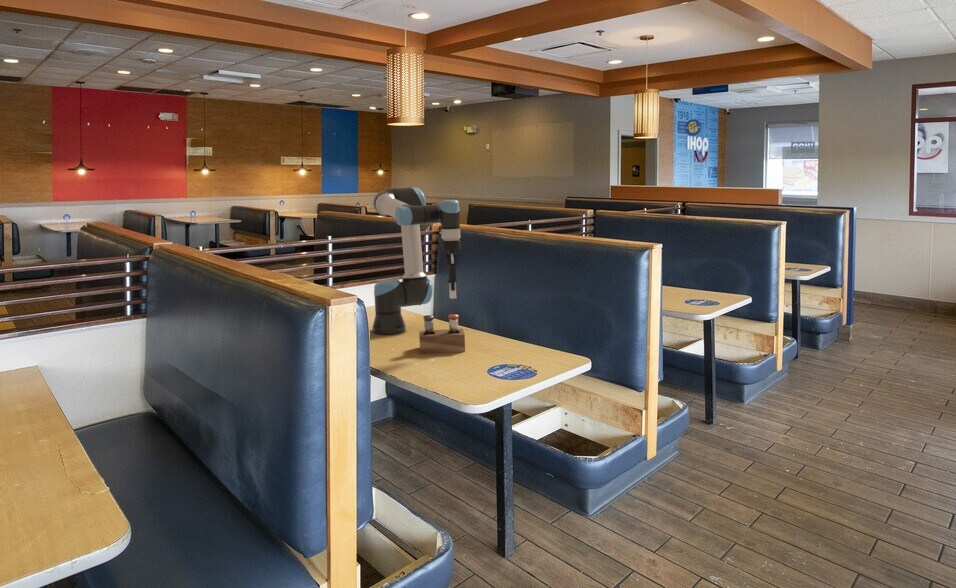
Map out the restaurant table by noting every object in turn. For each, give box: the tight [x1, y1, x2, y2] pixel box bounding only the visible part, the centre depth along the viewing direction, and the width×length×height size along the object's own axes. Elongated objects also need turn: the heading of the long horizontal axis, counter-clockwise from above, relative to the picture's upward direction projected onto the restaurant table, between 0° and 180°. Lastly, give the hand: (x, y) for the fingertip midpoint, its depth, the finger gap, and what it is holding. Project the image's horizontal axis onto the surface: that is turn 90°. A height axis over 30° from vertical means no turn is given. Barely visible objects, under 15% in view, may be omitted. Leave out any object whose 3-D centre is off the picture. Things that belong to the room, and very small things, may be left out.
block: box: [418, 328, 466, 355], centre depth 265 cm, size 10×18×7 cm, turn 95°
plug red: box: [447, 313, 459, 334], centre depth 264 cm, size 4×4×8 cm
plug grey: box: [423, 314, 435, 335], centre depth 263 cm, size 4×4×8 cm
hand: (453, 298), depth 262 cm, fingers closed
